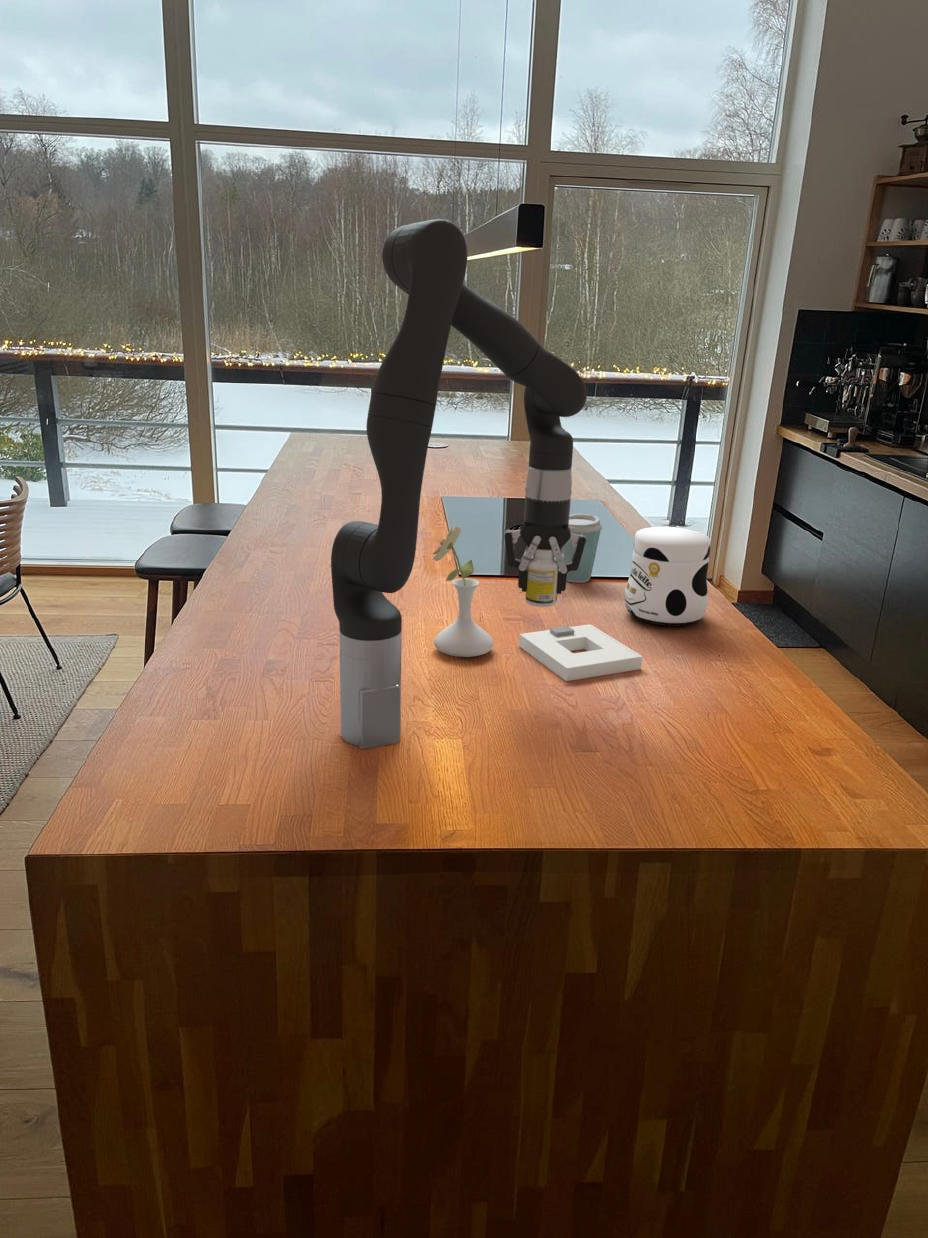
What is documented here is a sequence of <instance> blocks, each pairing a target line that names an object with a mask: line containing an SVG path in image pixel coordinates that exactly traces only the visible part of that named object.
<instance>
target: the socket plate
mask: <svg viewBox="0 0 928 1238" xmlns="http://www.w3.org/2000/svg"><path fill="white" fill-rule="evenodd" d="M518 638H519V639H518V640H519V641H518V647H520V648H521V649H522V650H524V651H525V652H526V653H527V654H529V655H530V656H531V657H533V658H534V659H536V661H537V662H540V663H541V664H542V665H543V666H545V668H548V669H549V670H550V671H552V672H553V673H554V674H556V675H557V676H558V677H559V678H561V679H562V680H563V681H565V682H569V681H576V680H583V679H589V678H593V677H594V678H595V677H599V676H606V675H612V674H618V673H625V672H631V671H637V670H641V669H642V663H643V656H642V655H641V654H639V653H637V652H636V651H634V650H633V649H631V648H629V647H628V646H626V645H625V644H623V643H622V642H620V641H618V640H617V639H615V638H613V637H612V636H610V635H609V634H607V633H605V632H603V631H602V630H600V629H599V628H597V627H595V626H594V625H592V624H590V623H589V624H582V625H576V626H575V625H574V626H559V627H553V628H552V627H551V628H550V629H547V630H540V631H539V630H538V631H532V632H525V633H519V637H518ZM580 650H585V651H581V652H572V651H580Z"/></svg>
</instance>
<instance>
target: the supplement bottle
mask: <svg viewBox="0 0 928 1238" xmlns="http://www.w3.org/2000/svg"><path fill="white" fill-rule="evenodd" d="M526 568H527V581H526V592H525V602H526V604H528V605H530V606H534V607H538V608H539V607H541V608H547V607H553V606H555V605H556V604H557V601H558V594H557V589H558V575H559V570H560V569H559V566H558V564H557V561H556V559H555V556H554V553H553V550H545V549H536V550H535V552H534V554H533V556H532V558H531V560H530V561H529V563H528V565H527V567H526Z"/></svg>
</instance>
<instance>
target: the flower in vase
mask: <svg viewBox="0 0 928 1238" xmlns="http://www.w3.org/2000/svg"><path fill="white" fill-rule="evenodd" d="M461 531H462V529H461V527H459V526H458V525H456V526H455V527H454V529H453V528H452V527H451V528H450V529H449V530H448V533H447V534H446V538H442V539H441V540H440V541H439V545H440V546H438V547H436V548H437V549H435V550H434V552H433V553H432V555H434V556H433V558H432V561H436V562H438V561H441V560H442V559H443V558H444V557H445V556H446V555H447V554H449V552H450V551H453V554H454V557H455V560H456V562H457V565H458V569H457V568H456V569H454V570H452V571H451V572H449V574H448V575H447V577H446V580H445V582H450V581H452V585H453V586H454V589H456V593H457V596H458V614H457V618H456V620H454V622H452V623H451V624H450V625H447V627H445V628H444V629H442V630H441V631H440V632H439V633H438V634H437V635H436V636H435V638H434V640H433V644H434V645H433V646H434V647H435V648H436V649H437V651H439V652H441V653H443V654H445V655H448V656H451V657H458V658H473V657H477V656H482V655H484V654H487V653H488V652H490V651H492V649H493V647H494V646H495V643H494V641H493V638H492V636H491V635H489V633H488V632H487V631H485V630H484V629H483V628H482V627H481V626H479V625H478V624H477V623H476V622H475V621H474V620H473V618H472V610H471V609H472V601H473V595H474V593H475V591H476V588H477V587H478V586H480V581H478V580H477V579H474V578H467V577H469V576H471V575H473V574H474V571H475V569H474V564H473V560H472V559H470V560H468V561H467V562H466V563H464V564H462V565H461V563H460V561H459V556H458V554H457V552H456V550H455V547H454V545H455V544H456V543H457V541H458V538H459V537H460V533H461ZM459 573H460V576H461V578H456V577H458V574H459ZM455 578H456V579H455Z"/></svg>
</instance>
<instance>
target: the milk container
mask: <svg viewBox="0 0 928 1238" xmlns="http://www.w3.org/2000/svg"><path fill="white" fill-rule="evenodd" d="M710 553H711V540H710V537H709V536H708V535H706V534H704V533H703V532H701V531H700V532H699V531H696V530H694V529H687V528H682V527H673V526H653V527H645V528H641V529H638V531H636V532H635V536H634V541H633V551H632V560H631V564H632V565H631V572H630V575H629V578H628V581H627V583H626V586H625V591H624V605H625V608H626V610H627V612H628V613H629V614H630V615H632V616H633V617H634V618H636V619H637V620H640V621H642V622H646V623H650V624H653V625H661V626H668V627H669V626H677V627H678V626H686V625H691V624H694V623H696V622H699V621H700V620H702V618H703V617H704V616H705V613H706V611H707V609H708V604H709V590H708V582H707V576H708V568H709V563H710Z"/></svg>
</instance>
